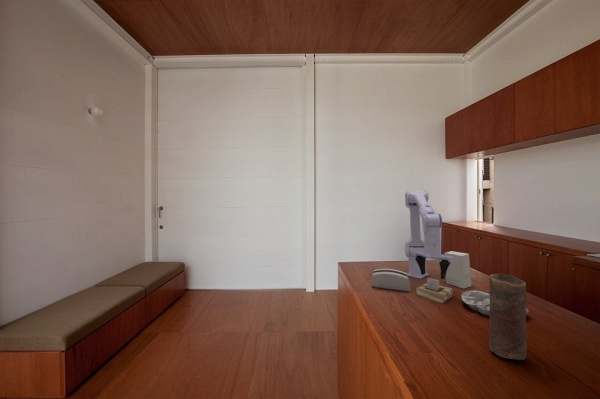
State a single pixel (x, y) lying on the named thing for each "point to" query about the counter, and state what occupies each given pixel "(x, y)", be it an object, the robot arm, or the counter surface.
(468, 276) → the skincare box
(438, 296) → the well block
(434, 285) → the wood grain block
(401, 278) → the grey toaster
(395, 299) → the counter surface
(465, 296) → the brain slice
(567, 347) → the counter surface
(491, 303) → the brown tall cylinder
